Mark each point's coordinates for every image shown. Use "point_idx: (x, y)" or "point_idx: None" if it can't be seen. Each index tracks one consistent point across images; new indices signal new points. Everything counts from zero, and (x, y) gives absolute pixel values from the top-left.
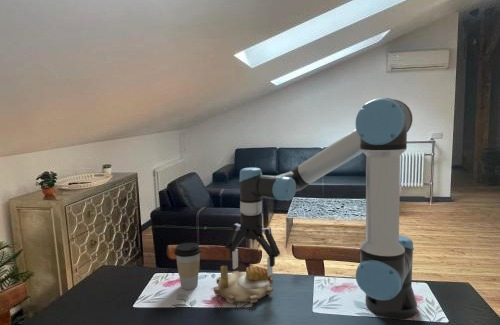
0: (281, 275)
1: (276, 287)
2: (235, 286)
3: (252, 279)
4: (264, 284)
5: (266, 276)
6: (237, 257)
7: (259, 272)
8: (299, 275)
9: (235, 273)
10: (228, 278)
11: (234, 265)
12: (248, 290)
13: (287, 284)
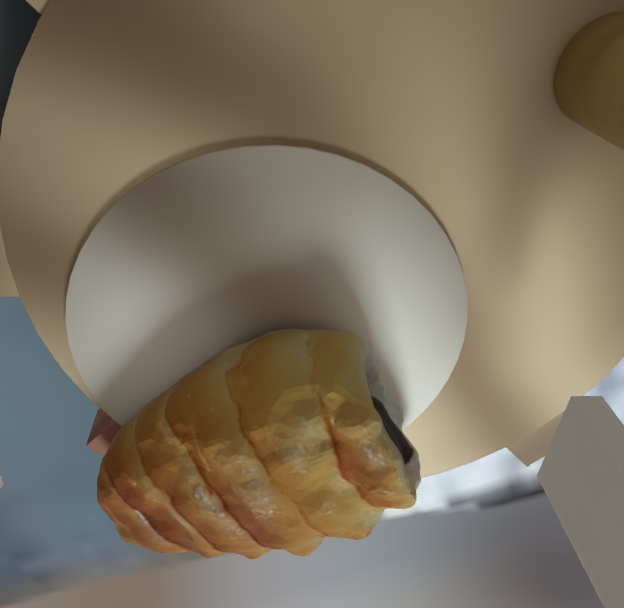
0: (145, 552)
1: (68, 391)
2: (445, 138)
3: (266, 338)
4: (90, 316)
5: (121, 443)
6: (615, 606)
7: (199, 460)
8: (13, 593)
9: (537, 414)
10: (594, 295)
11: (603, 443)
12: (215, 98)
13: (9, 464)
